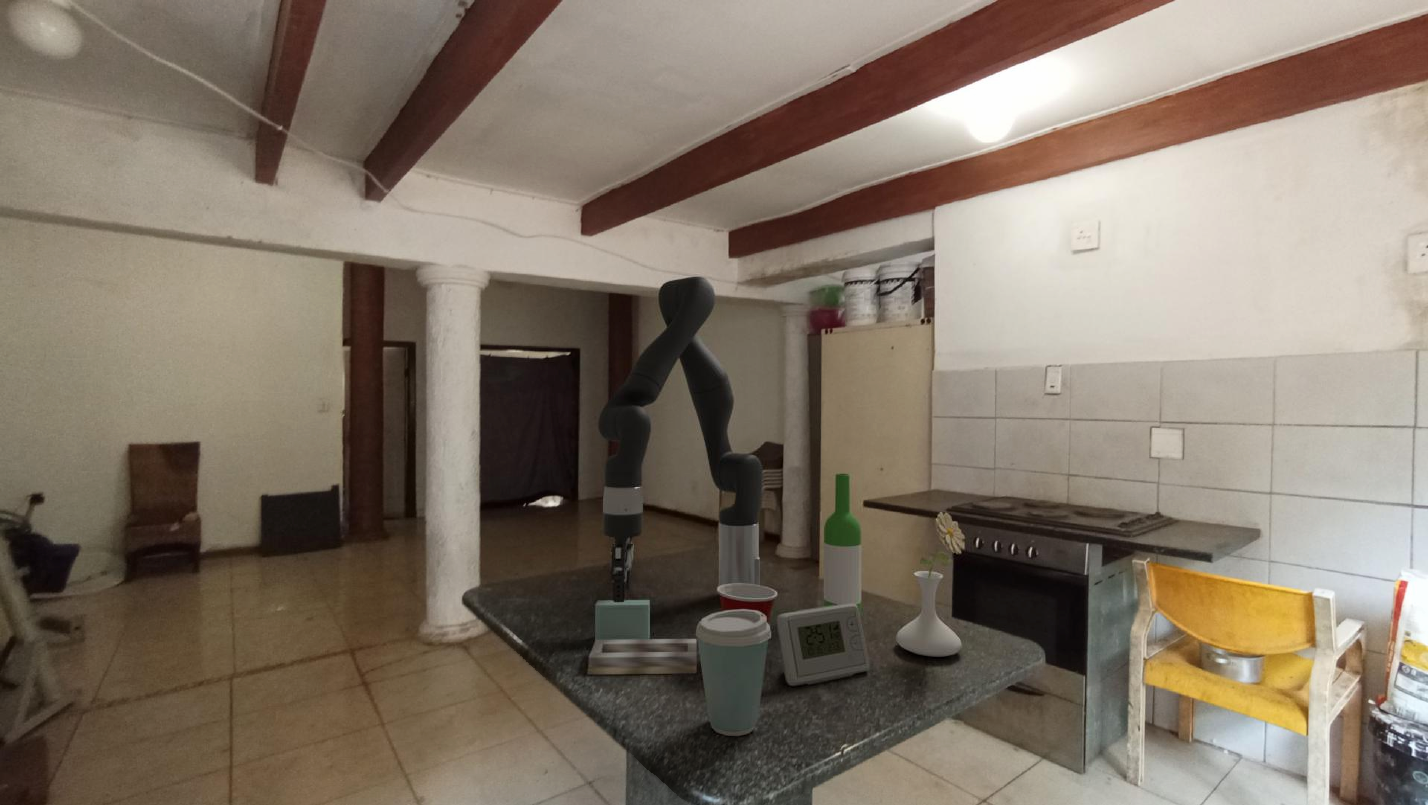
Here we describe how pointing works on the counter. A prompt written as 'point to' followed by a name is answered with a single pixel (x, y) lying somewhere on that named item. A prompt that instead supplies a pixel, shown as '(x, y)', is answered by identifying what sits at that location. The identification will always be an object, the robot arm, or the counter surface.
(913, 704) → the counter surface
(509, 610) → the counter surface
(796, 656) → the digital clock
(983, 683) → the counter surface
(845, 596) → the wine bottle
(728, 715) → the disposable coffee cup
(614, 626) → the green rectangular block
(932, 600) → the flower in vase
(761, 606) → the plastic cup
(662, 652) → the board
